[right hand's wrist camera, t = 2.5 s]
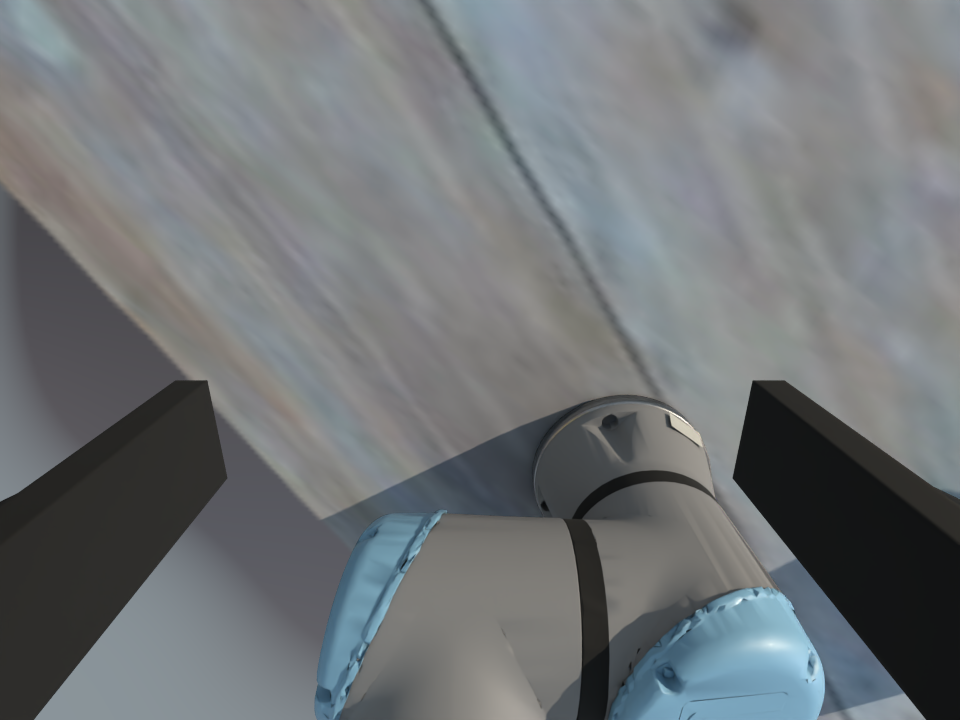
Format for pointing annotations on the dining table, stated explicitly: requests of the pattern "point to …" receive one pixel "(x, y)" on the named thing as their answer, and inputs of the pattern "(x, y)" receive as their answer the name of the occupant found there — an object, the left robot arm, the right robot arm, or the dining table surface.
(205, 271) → the dining table surface
